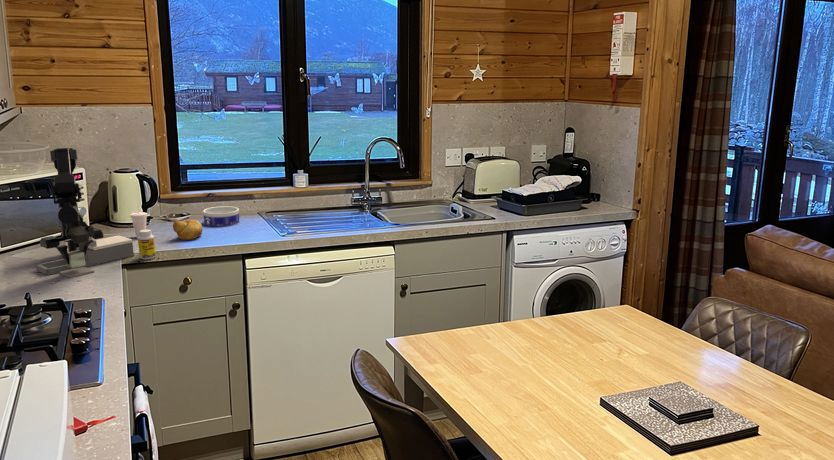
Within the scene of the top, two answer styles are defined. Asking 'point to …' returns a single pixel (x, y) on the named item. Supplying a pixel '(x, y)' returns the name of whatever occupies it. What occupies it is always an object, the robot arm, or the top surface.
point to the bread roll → (187, 229)
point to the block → (76, 259)
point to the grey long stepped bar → (89, 258)
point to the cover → (109, 242)
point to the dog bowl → (221, 216)
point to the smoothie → (139, 221)
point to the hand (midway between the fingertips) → (75, 262)
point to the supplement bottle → (146, 245)
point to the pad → (76, 272)
